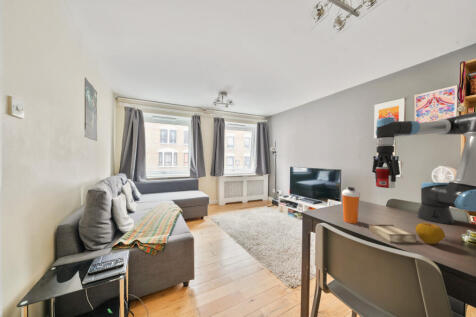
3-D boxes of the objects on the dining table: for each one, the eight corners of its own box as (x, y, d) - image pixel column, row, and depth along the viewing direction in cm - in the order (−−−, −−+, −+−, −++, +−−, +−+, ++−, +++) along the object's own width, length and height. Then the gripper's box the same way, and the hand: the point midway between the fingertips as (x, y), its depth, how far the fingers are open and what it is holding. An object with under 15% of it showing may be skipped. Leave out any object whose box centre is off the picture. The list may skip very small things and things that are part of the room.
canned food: (398, 188, 92) (398, 167, 92) (380, 187, 94) (381, 167, 94) (388, 185, 100) (388, 166, 100) (372, 185, 101) (373, 166, 101)
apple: (439, 250, 71) (439, 228, 71) (410, 240, 80) (411, 221, 79) (448, 245, 75) (449, 225, 75) (420, 237, 83) (420, 218, 83)
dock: (391, 230, 90) (391, 224, 90) (415, 242, 78) (416, 234, 78) (369, 230, 90) (369, 224, 90) (390, 242, 78) (390, 235, 78)
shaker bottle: (343, 222, 100) (343, 188, 100) (340, 217, 109) (340, 186, 108) (361, 225, 97) (362, 189, 97) (357, 219, 105) (357, 187, 105)
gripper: (364, 146, 107) (364, 183, 107) (395, 144, 86) (395, 190, 86) (376, 146, 107) (376, 183, 107) (410, 144, 86) (410, 189, 87)
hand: (384, 186), depth 97 cm, fingers closed on canned food, 8 cm apart
